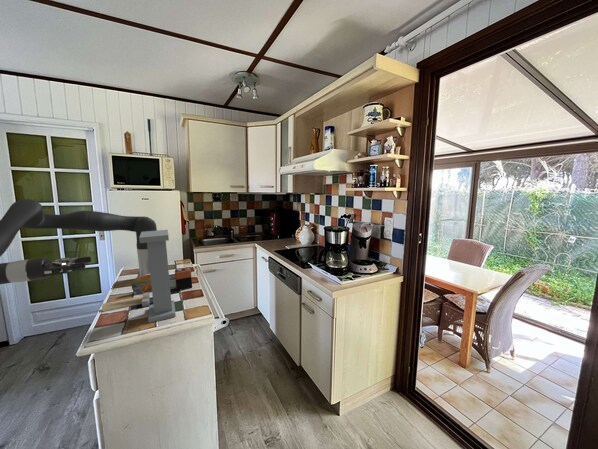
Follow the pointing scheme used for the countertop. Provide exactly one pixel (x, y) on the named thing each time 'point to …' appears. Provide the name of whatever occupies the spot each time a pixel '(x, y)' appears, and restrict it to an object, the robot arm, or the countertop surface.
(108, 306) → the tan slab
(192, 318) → the countertop surface
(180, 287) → the battery
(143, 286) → the tin
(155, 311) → the shelf post
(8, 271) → the robot arm
